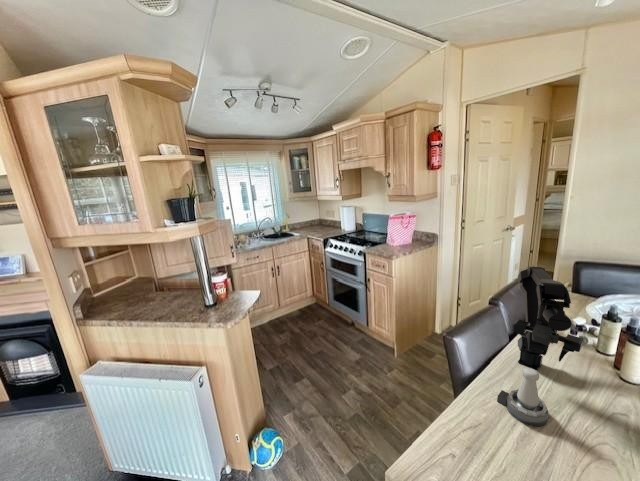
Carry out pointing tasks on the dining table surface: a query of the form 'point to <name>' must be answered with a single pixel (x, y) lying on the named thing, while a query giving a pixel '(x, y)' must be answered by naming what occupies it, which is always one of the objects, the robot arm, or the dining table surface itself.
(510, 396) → the grey round shallow dish
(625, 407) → the dining table surface
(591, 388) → the dining table surface
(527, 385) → the salt shaker
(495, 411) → the dining table surface
